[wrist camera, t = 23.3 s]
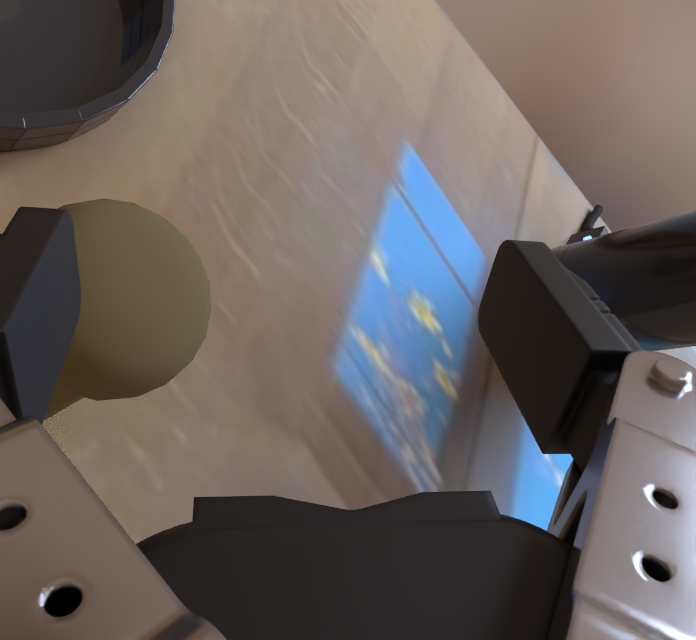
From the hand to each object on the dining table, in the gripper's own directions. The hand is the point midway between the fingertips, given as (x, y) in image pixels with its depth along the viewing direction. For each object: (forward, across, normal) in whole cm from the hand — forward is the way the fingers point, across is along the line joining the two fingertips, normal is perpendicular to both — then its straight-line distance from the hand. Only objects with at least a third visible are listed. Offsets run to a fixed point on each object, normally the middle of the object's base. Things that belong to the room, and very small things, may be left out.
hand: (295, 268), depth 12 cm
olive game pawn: (+9, +9, +10) cm, 16 cm away
